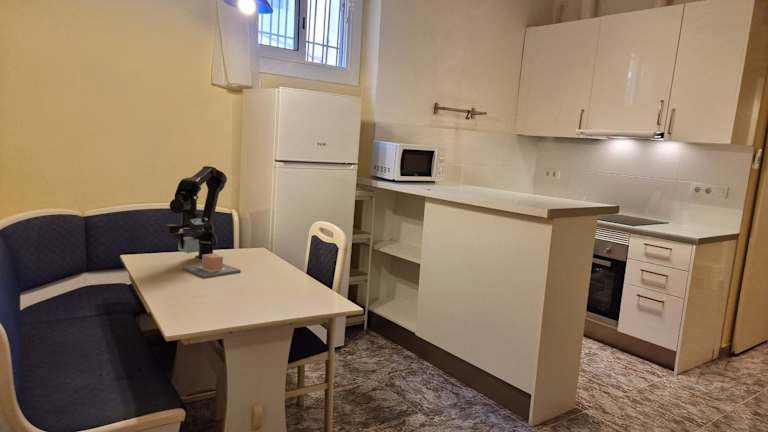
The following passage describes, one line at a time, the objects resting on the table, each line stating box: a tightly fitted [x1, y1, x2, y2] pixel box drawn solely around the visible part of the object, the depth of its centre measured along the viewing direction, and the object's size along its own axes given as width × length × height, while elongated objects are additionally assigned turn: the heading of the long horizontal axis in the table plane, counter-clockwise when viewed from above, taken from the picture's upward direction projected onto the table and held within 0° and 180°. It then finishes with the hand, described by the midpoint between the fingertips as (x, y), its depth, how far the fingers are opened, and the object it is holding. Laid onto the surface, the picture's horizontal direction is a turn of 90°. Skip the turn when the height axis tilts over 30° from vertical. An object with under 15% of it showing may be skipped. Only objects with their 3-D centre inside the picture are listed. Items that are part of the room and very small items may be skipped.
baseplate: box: [182, 263, 242, 279], centre depth 204 cm, size 16×16×1 cm
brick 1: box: [177, 236, 199, 254], centre depth 209 cm, size 7×5×5 cm
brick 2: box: [201, 252, 224, 271], centre depth 203 cm, size 7×5×5 cm
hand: (188, 248), depth 209 cm, fingers closed on brick 1, 5 cm apart
